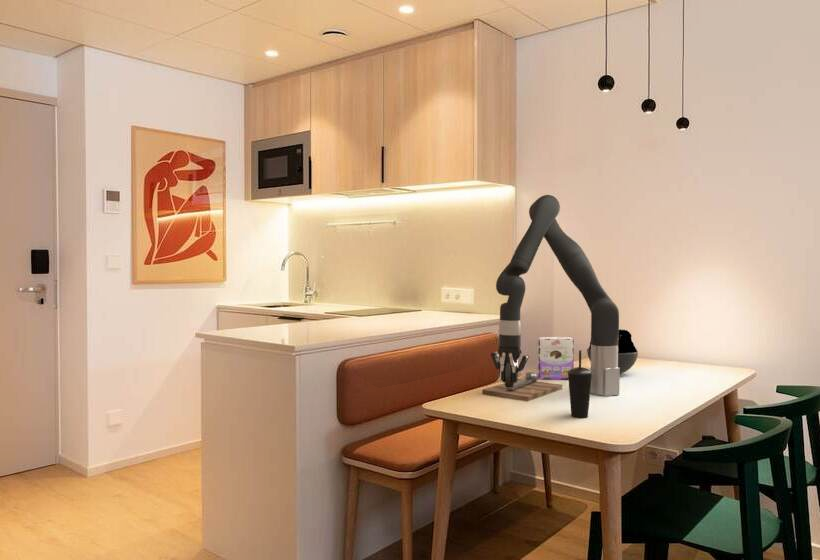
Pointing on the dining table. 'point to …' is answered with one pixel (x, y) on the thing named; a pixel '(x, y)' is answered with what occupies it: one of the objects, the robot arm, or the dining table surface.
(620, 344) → the bowl of black rocks
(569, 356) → the candy box
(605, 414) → the dining table surface
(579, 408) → the drinking cup
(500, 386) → the board
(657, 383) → the dining table surface
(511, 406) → the dining table surface
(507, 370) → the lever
